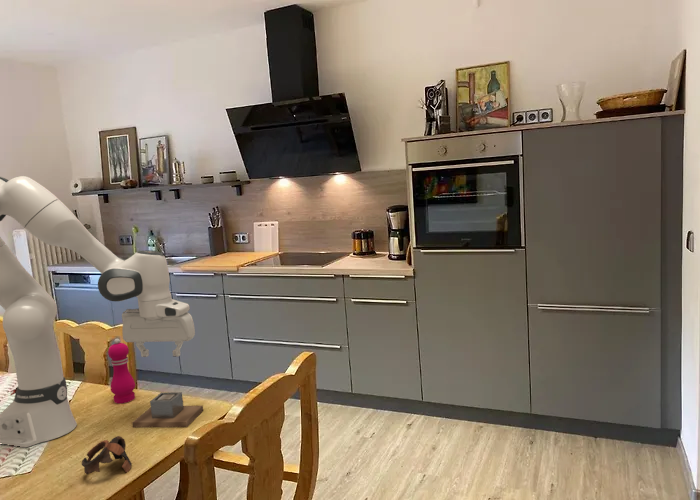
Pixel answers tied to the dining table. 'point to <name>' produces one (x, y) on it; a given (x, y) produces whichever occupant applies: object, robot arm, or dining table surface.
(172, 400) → the grey open box
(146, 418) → the post stand
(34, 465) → the dining table surface
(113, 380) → the pepper mill
